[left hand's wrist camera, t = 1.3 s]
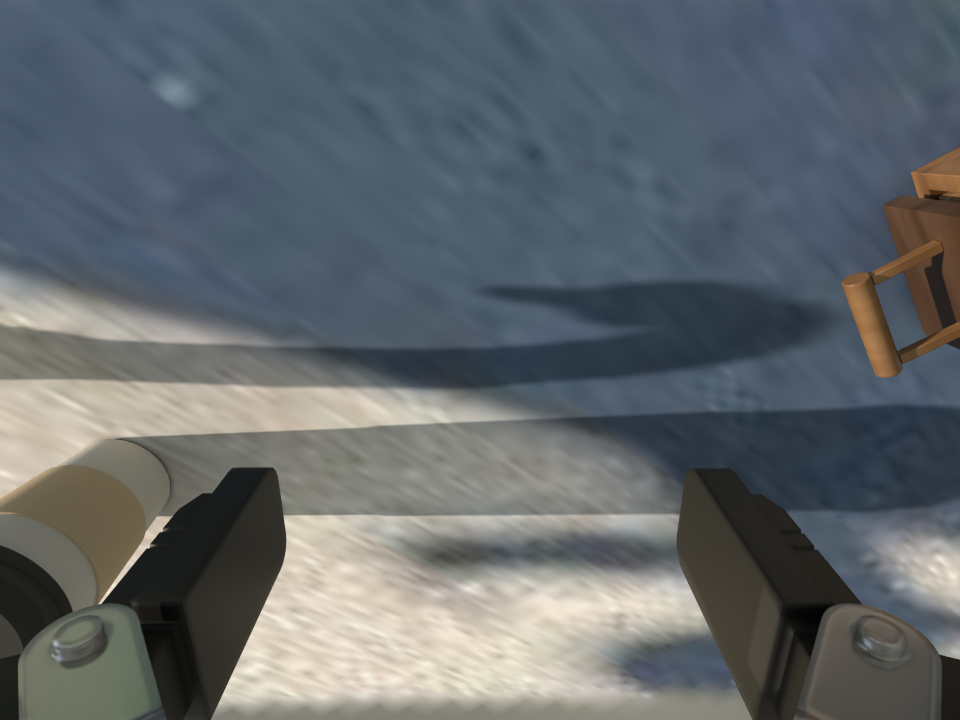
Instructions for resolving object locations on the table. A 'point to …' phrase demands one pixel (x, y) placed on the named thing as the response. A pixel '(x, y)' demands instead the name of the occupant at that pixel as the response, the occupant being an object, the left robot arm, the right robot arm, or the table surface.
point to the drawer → (913, 280)
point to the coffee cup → (73, 534)
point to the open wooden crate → (938, 176)
